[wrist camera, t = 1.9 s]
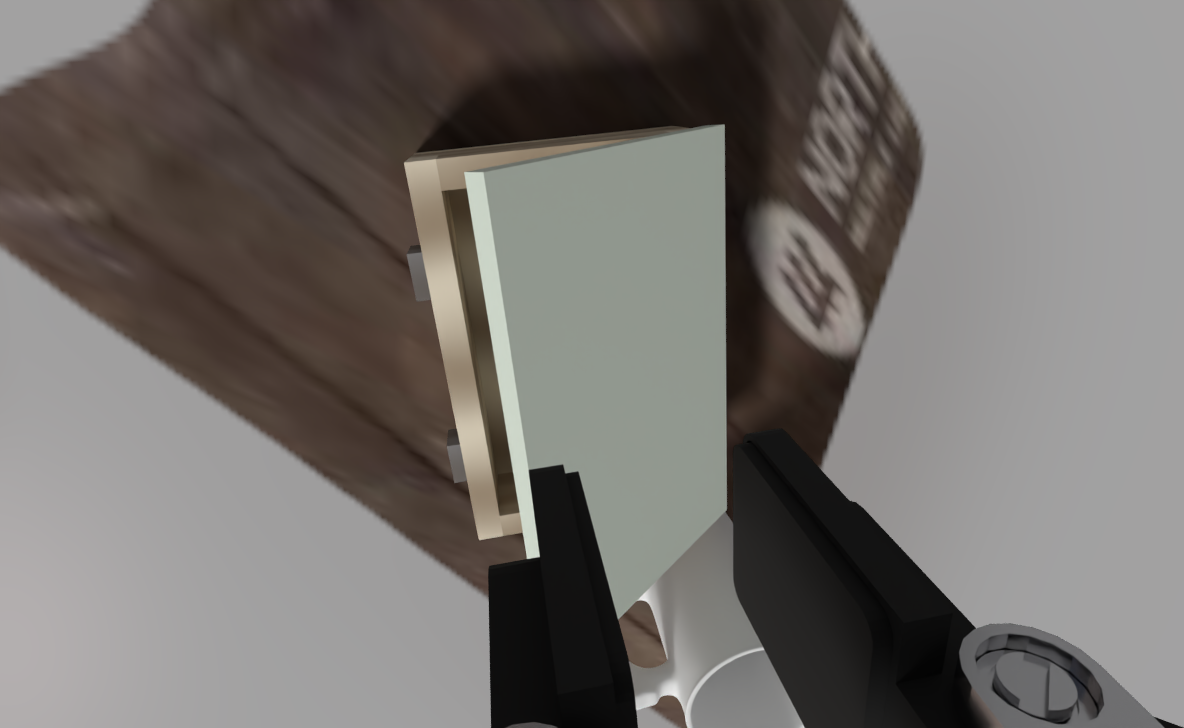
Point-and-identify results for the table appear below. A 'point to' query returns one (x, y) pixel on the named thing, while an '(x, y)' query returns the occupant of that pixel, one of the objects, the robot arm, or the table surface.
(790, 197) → the table surface
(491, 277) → the lid
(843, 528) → the robot arm
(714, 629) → the mug
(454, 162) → the beige box
